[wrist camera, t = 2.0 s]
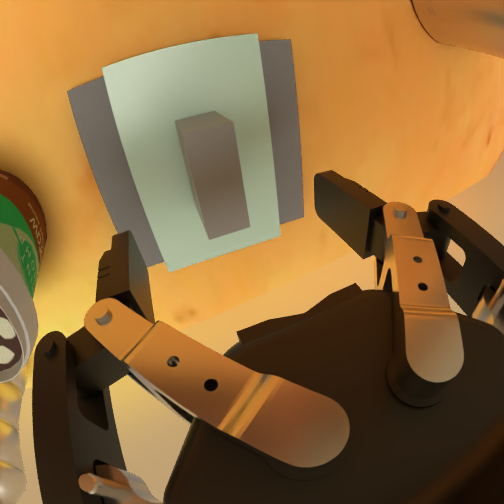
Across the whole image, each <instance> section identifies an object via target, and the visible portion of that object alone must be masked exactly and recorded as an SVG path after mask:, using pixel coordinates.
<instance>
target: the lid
mask: <svg viewBox="0 0 504 504" xmlns="http://www.w3.org/2000/svg"><path fill="white" fill-rule="evenodd" d="M102 71H103V75H104V80H105V84H106V88H107V92H108V96H109V100H110V103H111V107H112V111H113V115H114V118H115V122H116V125H117V129H118V132H119V135H120V139H121V142H122V145H123V149H124V152H125V155H126V158H127V161H128V164H129V167H130V170H131V173H132V176H133V179H134V182H135V185H136V188H137V191H138V194H139V197H140V199H141V202H142V205H143V208H144V210H145V213H146V216H147V219H148V221H149V224H150V226H151V229H152V232H153V234H154V237H155V239H156V242H157V244H158V247H159V249H160V252H161V254H162V257H163V259H164V261H165V264H166V266H167V269H168V271H169V272H172V271H175V270H178V269H181V268H184V267H187V266H190V265H193V264H196V263H199V262H202V261H205V260H208V259H211V258H214V257H217V256H221V255H224V254H227V253H230V252H233V251H236V250H239V249H242V248H245V247H248V246H251V245H254V244H257V243H260V242H264V241H267V240H270V239H273V238H276V237H279V236H281V234H280V223H279V211H278V201H277V190H276V180H275V170H274V160H273V151H272V142H271V133H270V124H269V116H268V107H267V99H266V91H265V83H264V76H263V68H262V61H261V54H260V46H259V39H258V33H256V34H245V35H236V36H227V37H220V38H213V39H207V40H201V41H196V42H191V43H186V44H181V45H177V46H172V47H168V48H164V49H160V50H156V51H152V52H149V53H145V54H142V55H138V56H135V57H132V58H129V59H125V60H122V61H119V62H117V63H114V64H111V65H108V66H105V67H103V68H102Z"/></svg>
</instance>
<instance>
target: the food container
mask: <svg viewBox="0 0 504 504" xmlns="http://www.w3.org/2000/svg"><path fill="white" fill-rule="evenodd" d="M46 239H47V233H46V221H45V217H44V213H43V211H42V208H41V206H40V204H39V202H38V200H37V198H36V197H35V195H34V194H33V192H32V191H31V190H30V189H29V187H28V186H27V185H26V184H25V183H24V182H22V181H21V180H20V179H19V178H17V177H16V176H14V175H12V174H10V173H8V172H5V171H2V170H0V383H3V382H7V381H10V380H12V379H14V378H15V377H16V376H17V375H18V374H19V373H20V371H21V370H22V368H23V367H24V366H25V364H26V363H27V361H28V359H29V357H30V354H31V352H32V349H33V347H34V345H35V342H36V339H37V335H38V320H37V313H36V309H35V306H34V302H33V296H34V290H35V285H36V280H37V276H38V271H39V267H40V263H41V259H42V255H43V251H44V246H45V242H46Z"/></svg>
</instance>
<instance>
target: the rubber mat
mask: <svg viewBox="0 0 504 504" xmlns="http://www.w3.org/2000/svg"><path fill="white" fill-rule="evenodd" d="M259 46H260V54H261V61H262V68H263V76H264V83H265V91H266V99H267V107H268V116H269V124H270V133H271V142H272V151H273V160H274V170H275V180H276V190H277V201H278V211H279V223H280V224H283V223H286V222H289V221H293V220H296V219H299V218H302V217H304V203H303V180H302V161H301V144H300V130H299V117H298V105H297V93H296V83H295V73H294V64H293V55H292V47H291V39H289V40H269V41H259ZM67 93H68V97H69V101H70V104H71V108H72V111H73V115H74V118H75V122H76V125H77V128H78V131H79V134H80V137H81V140H82V144H83V146H84V149H85V152H86V155H87V158H88V161H89V164H90V166H91V169H92V172H93V174H94V177H95V180H96V182H97V185H98V187H99V190H100V193H101V195H102V197H103V200H104V202H105V205H106V207H107V210H108V212H109V214H110V217H111V219H112V221H113V223H114V226H115V228H116V230H117V232H118V234H119V233H122V232H125V231H127V230H130V231H131V232H132V234H133V236H134V239H135V241H136V243H137V246H138V248H139V250H140V252H141V255H142V257H143V259H144V261H145V264H146V267H149V266H152V265H155V264H158V263H161V262H164V259H163V257H162V254H161V252H160V249H159V247H158V244H157V242H156V239H155V237H154V234H153V232H152V229H151V226H150V224H149V221H148V219H147V216H146V213H145V210H144V208H143V205H142V202H141V199H140V197H139V194H138V191H137V188H136V185H135V182H134V179H133V176H132V173H131V170H130V167H129V164H128V161H127V158H126V155H125V152H124V149H123V145H122V142H121V139H120V135H119V132H118V129H117V125H116V122H115V118H114V115H113V111H112V107H111V103H110V100H109V96H108V92H107V88H106V84H105V80H104V76H103V77H100V78H98V79H95V80H93V81H90V82H88V83H85V84H83V85H81V86H78V87H76V88H74V89H71V90H69V91H67Z"/></svg>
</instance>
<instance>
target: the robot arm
mask: <svg viewBox="0 0 504 504" xmlns="http://www.w3.org/2000/svg"><path fill="white" fill-rule="evenodd" d="M412 2H413V5H414V8H415V11H416V13H417V16H418V18H419V20H420V22H421V23H422V25H423V27H424V28H425V30H426V31H427V32H428V34H429V35H430V36H431V37H432V38H433V39H434V40H436V41H438V42H439V43H442V44H445V45H451V46H456V47H461V48H465V49H470V50H474V51H477V52H481V53H485V54H489V55H493V56H496V57H499V58H503V59H504V0H412ZM314 199H315V210H316V213H317V215H318V216H319V218H320V219H321V220H322V221H324V222H325V223H326V224H327V225H328V226H329V227H330V228H331V229H332V230H333V231H334V232H335V233H336V234H337V235H339V236H340V237H341V238H342V239H343V240H344V241H345V242H346V243H347V244H348V245H349V246H350V247H351V248H352V249H353V250H354V251H355V252H356V253H357V254H358V255H359V256H360V257H361V258H362V259H365V258H367V257H370V256H372V255H374V256H375V261H374V273H375V274H374V275H375V290H364V291H362V290H361V289H360V287H359V286H358V285H357V284H356V283H354V284H352V285H350V286H348V287H345V288H343V289H341V290H339V291H337V292H334V293H332V294H330V295H328V296H327V297H326V298H324V299H323V300H322V301H320V302H319V303H318V304H316V305H315V306H314V307H313V308H311V309H310V310H308V311H307V312H305V313H303V314H298V315H293V316H287V317H281V318H276V319H269V320H267V321H264V322H261V323H259V324H256V325H253V326H251V327H248V328H245V329H243V330H240V331H237V335H238V338H239V342H238V343H236V344H235V345H234V346H232V347H231V348H230V349H229V350H228V351H227V352H226V353H225V354H224V355H221V354H219V353H217V352H215V351H214V350H212V349H210V348H208V347H206V346H204V345H202V344H201V343H199V342H197V341H195V340H193V339H192V338H190V337H188V336H186V335H185V334H183V333H181V332H179V331H178V330H176V329H174V328H173V327H171V326H169V325H168V324H166V323H164V322H162V321H157V322H156V323H155V319H154V313H153V306H152V299H151V292H150V284H149V276H148V271H147V267H146V264H145V261H144V259H143V257H142V255H141V252H140V250H139V248H138V246H137V243H136V241H135V239H134V236H133V234H132V232H131V231H130V230H127V231H125V232H122V233H119V234H116V235H114V236H113V237H112V247H111V250H108V251H106V252H104V254H103V256H102V257H101V259H100V261H99V268H98V271H99V272H98V279H97V290H96V303H95V304H94V305H93V306H91V308H90V309H89V310H88V311H87V313H86V315H85V319H84V325H85V326H84V327H82V328H81V329H80V330H78V331H77V332H75V333H74V334H72V335H71V336H69V337H67V338H66V337H65V336H64V335H63V334H62V333H61V332H59V331H53V332H50V333H48V334H46V335H45V336H44V337H43V338H42V339H41V340H40V341H39V343H38V345H37V347H36V349H35V355H34V368H33V390H32V411H33V412H32V416H33V437H34V449H35V458H36V466H37V474H38V480H39V486H40V492H41V497H42V501H43V504H504V246H503V245H502V244H501V243H500V242H499V241H498V240H496V239H495V238H494V237H493V236H492V235H491V234H489V233H488V232H487V231H486V230H484V229H483V228H482V227H481V226H480V225H478V224H477V223H476V222H475V221H473V220H472V219H470V218H469V217H468V216H467V215H465V214H464V213H463V212H462V211H460V210H459V209H458V208H456V207H455V206H453V205H452V204H450V203H448V202H446V201H443V200H432V201H430V202H429V206H428V210H427V212H416V211H415V210H414V209H413V208H412V207H411V206H409V205H407V204H404V203H400V202H390V203H386V202H384V201H383V200H382V199H380V198H379V197H377V196H376V195H374V194H373V193H371V192H369V191H368V190H367V189H365V188H364V187H363V188H362V186H361V185H359V184H358V183H356V182H355V181H352V180H349V179H346V178H344V177H342V176H341V175H339V174H337V173H336V172H334V171H332V170H330V171H325V172H321V173H317V174H316V175H315V177H314ZM451 239H452V240H453V241H454V242H455V243H456V244H458V246H460V247H461V248H462V249H463V250H464V252H465V255H466V260H465V263H464V265H463V267H462V266H461V265H460V264H459V263H458V262H457V261H456V260H455V259H454V258H453V257H452V256H451V255H449V253H448V252H447V249H448V246H449V243H450V240H451ZM447 293H448V294H449V295H450V296H451V298H452V299H453V300H454V301H455V302H456V303H457V304H458V305H459V306H460V308H461V309H462V310H463V311H464V312H465V313H466V314H467V316H466V315H462V314H459V313H456V312H454V311H452V310H451V308H450V304H449V300H448V295H447ZM126 375H128V376H129V377H130V378H131V379H133V380H134V381H135V382H136V383H137V384H139V385H140V386H141V387H142V388H143V389H145V390H146V391H147V392H148V393H150V394H151V395H152V396H154V397H155V398H156V399H157V400H159V401H160V402H161V403H163V404H164V405H165V406H166V407H168V408H169V409H170V410H171V411H172V412H174V413H175V414H176V415H178V416H179V417H180V418H182V419H183V420H185V421H186V422H188V423H189V424H190V425H191V426H190V429H189V431H188V434H187V436H186V439H185V441H184V444H183V446H182V449H181V451H180V454H179V456H178V459H177V461H176V464H175V466H174V469H173V471H172V474H171V476H170V479H169V481H168V484H167V486H166V489H165V492H164V498H163V502H161V501H159V500H157V499H156V498H155V497H154V496H153V495H152V494H151V493H150V491H149V489H148V487H147V485H146V484H145V482H144V481H143V480H142V479H141V478H140V477H139V476H137V475H135V474H133V473H130V472H127V469H126V466H125V462H124V459H123V455H122V451H121V447H120V442H119V438H118V434H117V429H116V424H115V419H114V414H113V409H112V403H111V397H110V391H109V386H110V385H112V384H113V383H115V382H116V381H118V380H119V379H121V378H122V377H124V376H126Z"/></svg>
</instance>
